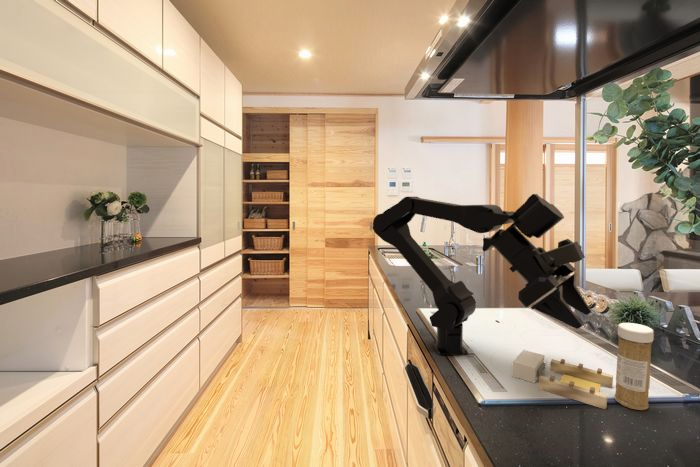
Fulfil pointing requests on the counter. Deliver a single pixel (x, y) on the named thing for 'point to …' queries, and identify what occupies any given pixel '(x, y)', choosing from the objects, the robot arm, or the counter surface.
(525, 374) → the block
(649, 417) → the counter surface
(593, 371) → the guide channel
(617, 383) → the sprinkles bottle
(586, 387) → the band
